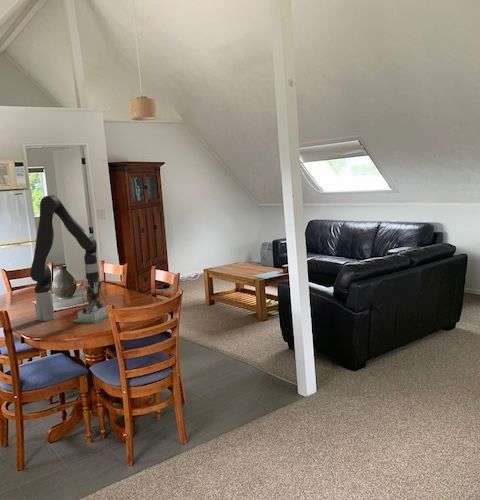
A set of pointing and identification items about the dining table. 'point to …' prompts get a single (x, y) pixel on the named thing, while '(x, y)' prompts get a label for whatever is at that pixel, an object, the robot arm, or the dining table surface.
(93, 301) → the lever
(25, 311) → the dining table surface
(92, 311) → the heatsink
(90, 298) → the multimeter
